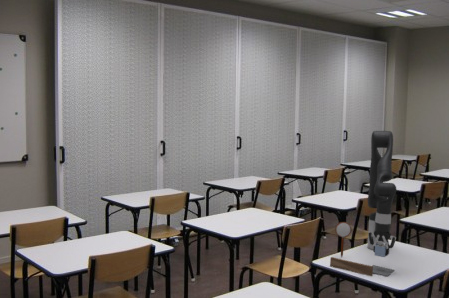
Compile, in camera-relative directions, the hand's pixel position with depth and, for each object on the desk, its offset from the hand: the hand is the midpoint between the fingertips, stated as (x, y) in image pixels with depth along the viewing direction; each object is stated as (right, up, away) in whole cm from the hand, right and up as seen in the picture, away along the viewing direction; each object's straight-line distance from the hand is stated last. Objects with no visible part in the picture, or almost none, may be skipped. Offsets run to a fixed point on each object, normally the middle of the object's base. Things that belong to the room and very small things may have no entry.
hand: (381, 254), depth 250 cm
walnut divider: (-15, -9, +1) cm, 17 cm away
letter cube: (0, 0, 0) cm, 0 cm away
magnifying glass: (-15, -6, +21) cm, 27 cm away
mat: (0, -9, +1) cm, 9 cm away
